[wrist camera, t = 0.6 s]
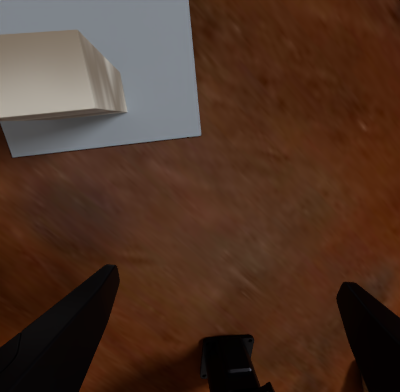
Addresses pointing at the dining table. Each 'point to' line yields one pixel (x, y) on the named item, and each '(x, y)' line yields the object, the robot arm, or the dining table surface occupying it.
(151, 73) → the mat
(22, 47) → the beige streaked block
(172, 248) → the dining table surface
